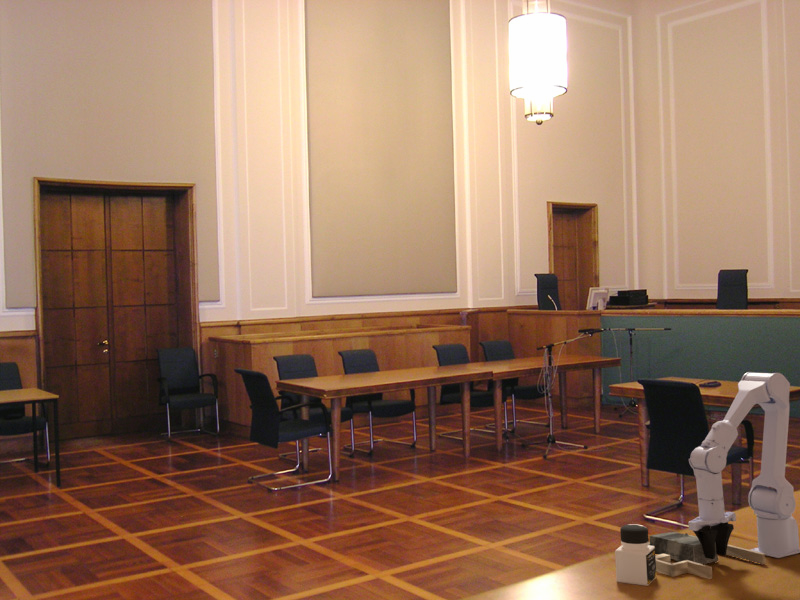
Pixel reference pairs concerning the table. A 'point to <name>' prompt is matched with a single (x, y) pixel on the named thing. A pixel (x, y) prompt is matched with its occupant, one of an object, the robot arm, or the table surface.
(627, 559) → the medicine bottle
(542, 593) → the table surface
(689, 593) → the table surface
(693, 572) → the trap lane
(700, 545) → the stone block
